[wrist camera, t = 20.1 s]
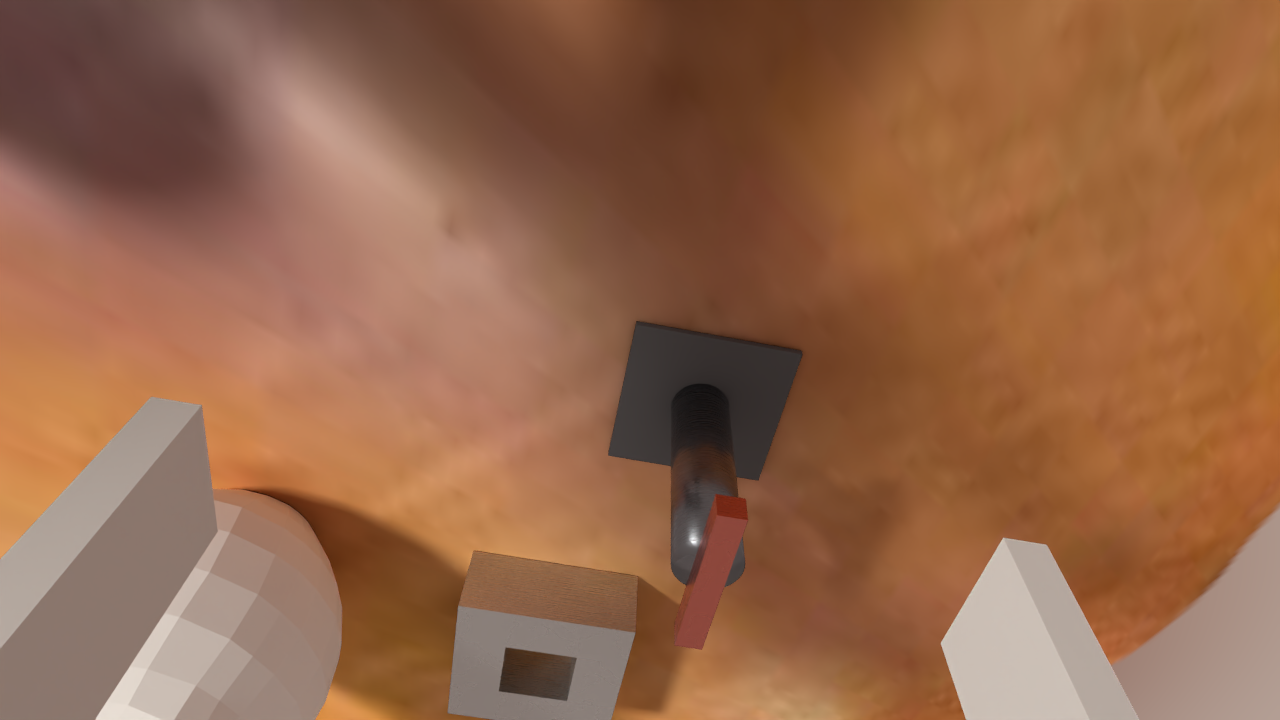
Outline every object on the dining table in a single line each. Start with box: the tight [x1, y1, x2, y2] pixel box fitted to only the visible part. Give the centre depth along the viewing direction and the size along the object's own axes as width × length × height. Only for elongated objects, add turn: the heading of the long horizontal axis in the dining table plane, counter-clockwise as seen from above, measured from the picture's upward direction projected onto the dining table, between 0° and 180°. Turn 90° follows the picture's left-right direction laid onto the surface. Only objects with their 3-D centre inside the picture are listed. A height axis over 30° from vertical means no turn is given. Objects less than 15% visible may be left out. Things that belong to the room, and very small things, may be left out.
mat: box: [608, 321, 802, 480], centre depth 51 cm, size 10×10×1 cm
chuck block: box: [448, 551, 638, 720], centre depth 60 cm, size 12×12×5 cm
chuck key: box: [671, 384, 748, 650], centre depth 45 cm, size 9×4×14 cm, turn 169°
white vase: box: [95, 489, 342, 720], centre depth 48 cm, size 19×18×25 cm
